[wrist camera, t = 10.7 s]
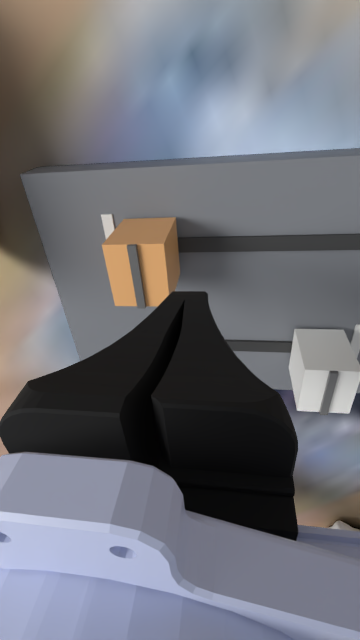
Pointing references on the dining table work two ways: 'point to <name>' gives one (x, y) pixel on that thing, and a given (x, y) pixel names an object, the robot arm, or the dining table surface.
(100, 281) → the fader board
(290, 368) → the pale fader
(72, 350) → the dining table surface
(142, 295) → the block
